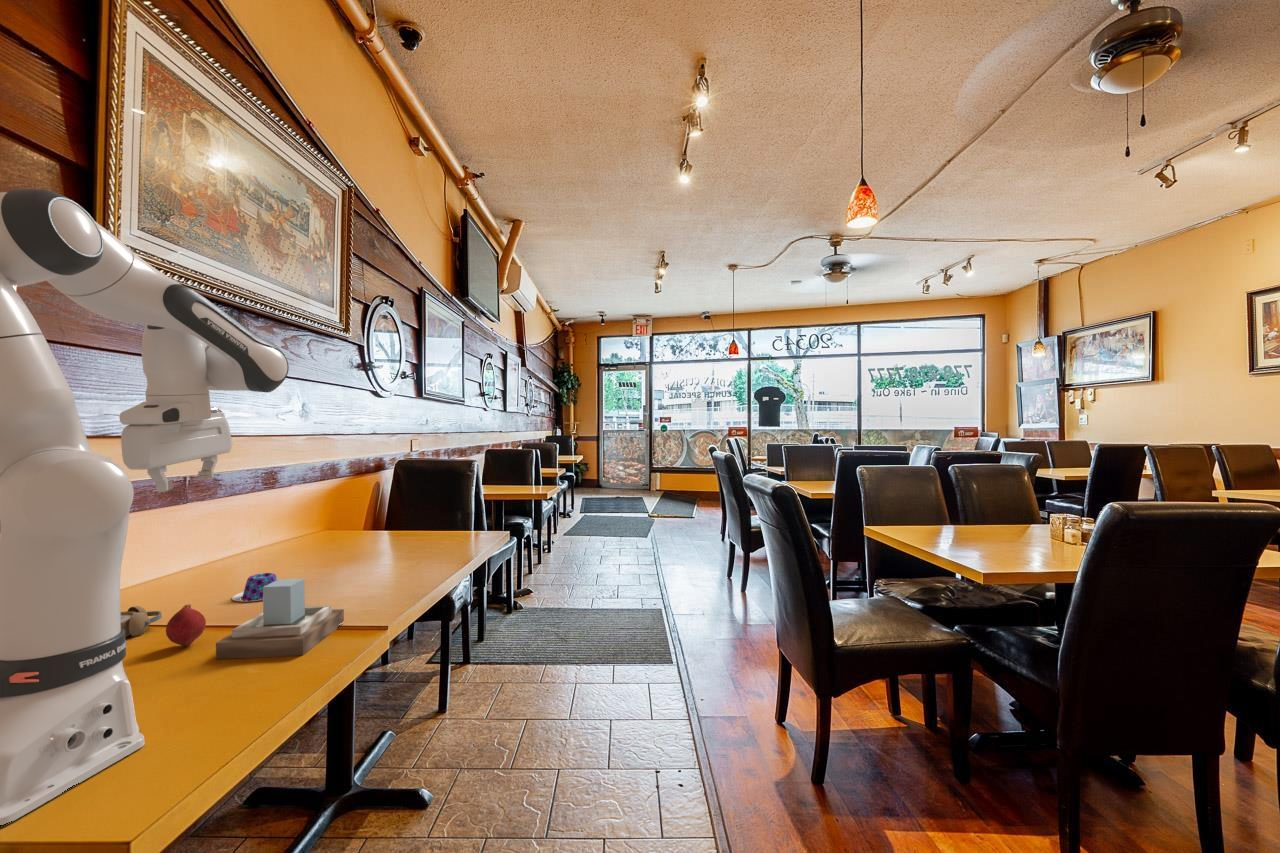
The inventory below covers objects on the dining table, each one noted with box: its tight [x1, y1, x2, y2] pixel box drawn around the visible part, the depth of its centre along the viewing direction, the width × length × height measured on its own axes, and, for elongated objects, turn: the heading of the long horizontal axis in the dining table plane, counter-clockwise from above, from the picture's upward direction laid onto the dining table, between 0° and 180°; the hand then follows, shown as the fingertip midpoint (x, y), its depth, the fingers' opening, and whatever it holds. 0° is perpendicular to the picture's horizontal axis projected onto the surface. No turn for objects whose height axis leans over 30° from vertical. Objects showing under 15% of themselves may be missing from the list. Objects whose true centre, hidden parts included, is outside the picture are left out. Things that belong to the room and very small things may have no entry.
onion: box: [165, 603, 207, 647], centre depth 103 cm, size 6×6×8 cm
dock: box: [215, 605, 345, 660], centre depth 106 cm, size 16×15×4 cm
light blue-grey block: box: [262, 578, 306, 627], centre depth 106 cm, size 5×5×8 cm
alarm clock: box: [121, 605, 163, 638], centre depth 109 cm, size 11×5×15 cm
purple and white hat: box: [231, 572, 278, 602], centre depth 135 cm, size 12×12×5 cm
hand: (186, 485), depth 100 cm, fingers open, 8 cm apart
